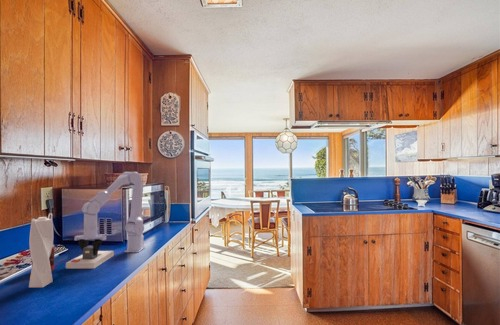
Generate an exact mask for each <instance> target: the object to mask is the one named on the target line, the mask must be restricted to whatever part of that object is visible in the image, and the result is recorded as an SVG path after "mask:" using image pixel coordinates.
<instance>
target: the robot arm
mask: <svg viewBox="0 0 500 325" xmlns="http://www.w3.org/2000/svg"><path fill="white" fill-rule="evenodd" d="M125 185H128V186H129V187H131V188H132V192H131V202H130V203H131V205H130V215H129V217H128V219H127V221H126V224H125V226H124V230H125V232H126V233H127V234H126V235H127V249H126V250H124V253H140V252H141V251H142V250H144V249H145V248H146V246H144V238H145V236H144V234H143V233H144V231H145V225H144V219H143V218H142V206H143V205H142V204H143V194H144V193H143V192H144V183H143V180H142V175H141V174H140V173H139V172H137V171H122V173H121V174H119V175H118V176H117V178H116V179H115V180H114V181H113V182H112V183H111V184H110V185H109V186H108V187H107V188H106V189H105V190H101V191H98V192H97V193H96V195H95V196H94V197H92V198H91V199H89V201H88V202H85V203H83V205H82V208H81V212H82V213H83V234H81V235H79V234H78V235H75V236H73V237H74V240H73V241H78V242H77V244H78V246H79V248H80V249H81V251H82V253H83V248H85V247H87V246H89V241H92V242H91V244H92V246H93V253H94V256H95V255H97V254H98V251H100V250H99V249H100V247H101V244H102V243H103V241H106V240H107V235H103V234H98V213H100V210H101V208H102V207H103V205H105V204H106V203H107V202H108V201H109V200H110V199H111V196H112V194H114V193H115V192H116V191H117V190H118V189H119V188H121V187H122V186H125Z"/></svg>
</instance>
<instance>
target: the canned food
mask: <svg viewBox="0 0 500 325" xmlns="http://www.w3.org/2000/svg"><path fill="white" fill-rule="evenodd" d="M49 261H50V266H51V272H53V270H54V269H55V244H54V243H53V246H52V250H51V254H50V257H49ZM32 264H33V262H32V261H31V265H32Z"/></svg>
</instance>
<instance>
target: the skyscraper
mask: <svg viewBox="0 0 500 325" xmlns="http://www.w3.org/2000/svg"><path fill="white" fill-rule="evenodd" d="M53 224H54V223H53V213H52V212H50V213H48V216H40V217H37V219H35V218H34V217H33V218H32V219H31V223H30V230H29V242H28V245H29V254H30V257H31V271H30V277H29V283H28V288H45V287H46V286H47V285H49V284H51V283H53V274H52V271H51V266H50V261H49V257H50V254H51V250H52V246H53V244H54V225H53ZM32 262H33V264H32Z"/></svg>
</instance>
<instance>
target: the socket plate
mask: <svg viewBox="0 0 500 325" xmlns="http://www.w3.org/2000/svg"><path fill="white" fill-rule="evenodd" d="M114 256H115V251H114V250H98V254H97V257H96V258H95V259H83V253H82V254H80V255H79V256H77V257H74V258H72V259H71V260H68V261H67V262H65V269H72V270H73V269H96V268H97V267H98V266H100V265H102V264H103V263H105V262H107V261H108V260H109V259H111V258H112V257H114Z"/></svg>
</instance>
